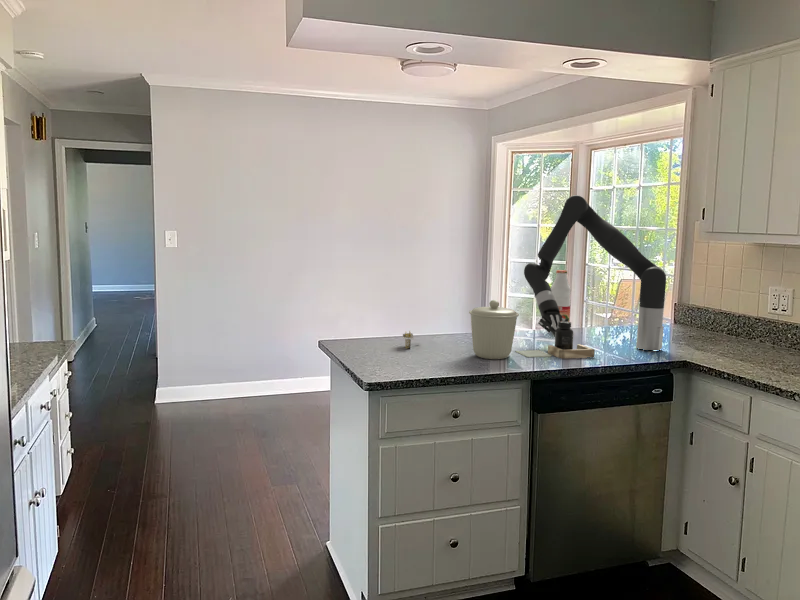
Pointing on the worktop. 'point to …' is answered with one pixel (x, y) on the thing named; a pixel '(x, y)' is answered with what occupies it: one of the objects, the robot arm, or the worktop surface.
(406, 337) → the yellow figurine
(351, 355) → the worktop surface
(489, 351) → the canister
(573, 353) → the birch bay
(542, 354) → the sage tile
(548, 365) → the worktop surface
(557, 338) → the supplement bottle
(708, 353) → the worktop surface
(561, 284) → the fruit juice
